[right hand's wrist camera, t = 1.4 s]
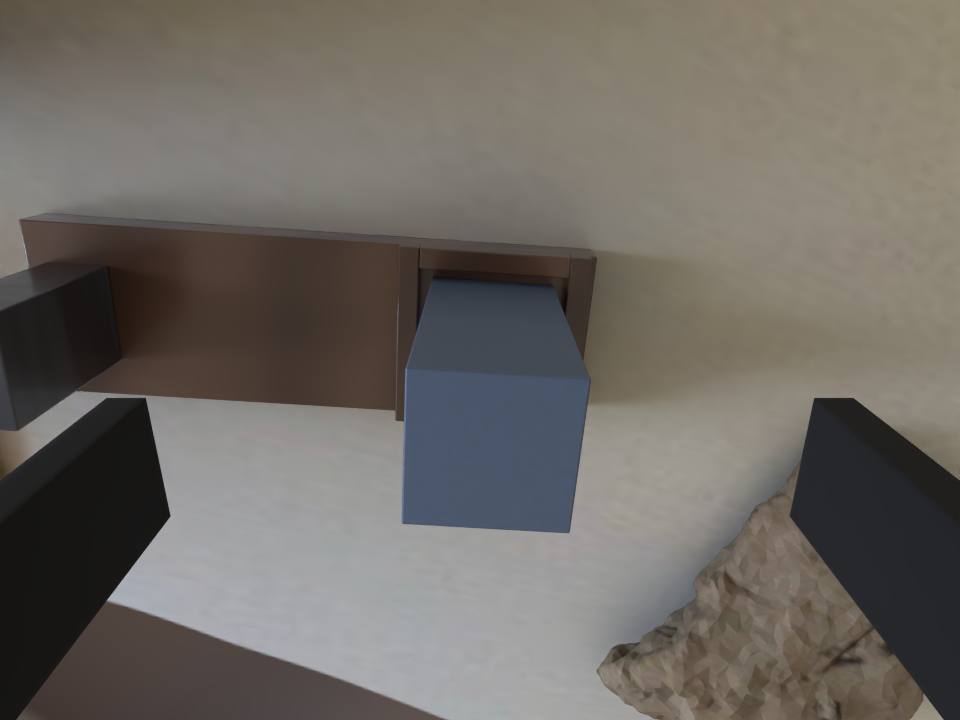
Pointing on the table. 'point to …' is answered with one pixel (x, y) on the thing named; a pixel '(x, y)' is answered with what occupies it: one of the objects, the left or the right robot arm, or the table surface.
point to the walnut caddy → (238, 310)
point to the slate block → (493, 409)
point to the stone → (764, 640)
